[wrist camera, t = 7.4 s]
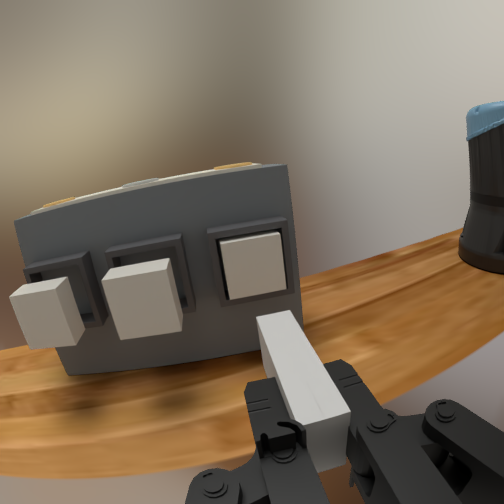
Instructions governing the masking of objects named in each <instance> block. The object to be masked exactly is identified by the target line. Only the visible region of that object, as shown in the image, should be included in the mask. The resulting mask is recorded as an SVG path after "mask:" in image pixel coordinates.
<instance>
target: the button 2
mask: <svg viewBox="0 0 504 504" xmlns="http://www.w3.org/2000/svg"><path fill="white" fill-rule="evenodd" d="M219 243H220V249H221V254H222V260H223V266H224V272H225V277H226V283H227V289H228V293H229V297H230V300H232V299H237V298H243V297H248V296H253V295H258V294H264V293H269V292H274V291H279V290H284V289H286V281H285V271H284V262H283V253H282V245H281V236H280V233H279V232H278V231H277V230H275V229H270V230H264V231H258V232H252V233H246V234H241V235H235V236H229V237H223V238H219Z"/></svg>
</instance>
